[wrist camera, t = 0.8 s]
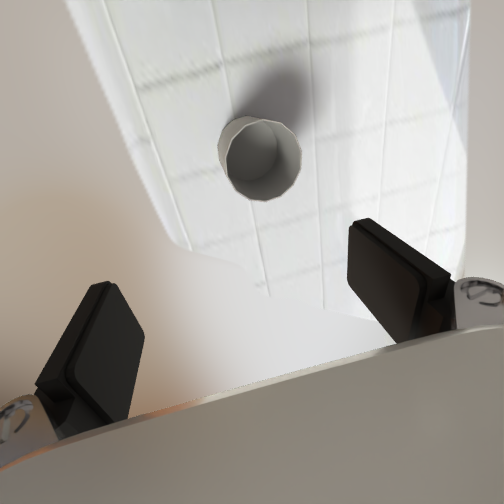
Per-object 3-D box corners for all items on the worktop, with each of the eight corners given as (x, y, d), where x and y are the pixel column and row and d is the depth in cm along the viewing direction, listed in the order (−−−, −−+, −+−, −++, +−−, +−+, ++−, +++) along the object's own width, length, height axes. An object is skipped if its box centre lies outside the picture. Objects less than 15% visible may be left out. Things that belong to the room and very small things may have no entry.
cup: (230, 104, 33) (243, 103, 24) (286, 131, 36) (315, 138, 27) (209, 168, 36) (214, 187, 28) (262, 188, 39) (281, 211, 31)
